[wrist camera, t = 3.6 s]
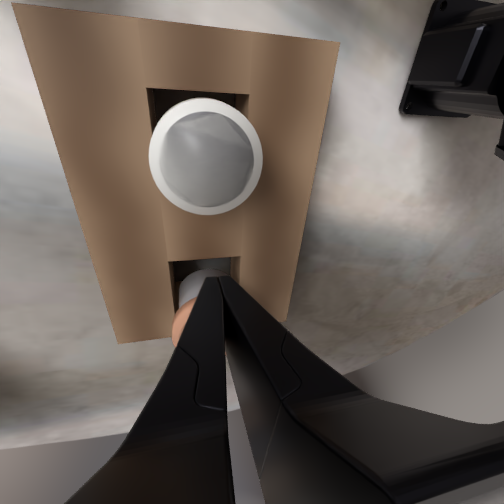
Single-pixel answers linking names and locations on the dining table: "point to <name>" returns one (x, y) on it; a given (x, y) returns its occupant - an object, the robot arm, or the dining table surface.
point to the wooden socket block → (138, 141)
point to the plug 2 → (189, 299)
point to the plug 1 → (205, 156)
